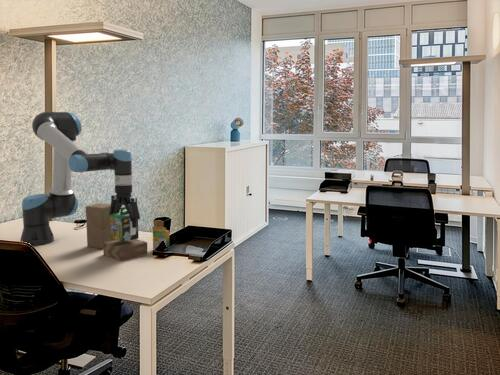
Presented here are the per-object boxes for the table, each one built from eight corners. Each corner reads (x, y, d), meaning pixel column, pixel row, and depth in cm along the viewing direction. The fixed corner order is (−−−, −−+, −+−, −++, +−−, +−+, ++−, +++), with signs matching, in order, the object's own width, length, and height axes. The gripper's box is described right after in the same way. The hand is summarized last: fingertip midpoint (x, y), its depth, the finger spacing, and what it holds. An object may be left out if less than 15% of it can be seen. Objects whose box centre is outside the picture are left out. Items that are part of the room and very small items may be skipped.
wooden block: (103, 249, 216) (101, 208, 213) (86, 246, 220) (85, 206, 217) (117, 244, 225) (116, 204, 222) (101, 242, 229) (100, 202, 226)
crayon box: (169, 250, 216) (169, 226, 214) (166, 251, 213) (166, 227, 212) (156, 248, 218) (155, 224, 217) (152, 250, 216) (152, 226, 214)
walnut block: (103, 255, 208) (103, 242, 207) (130, 249, 218) (129, 237, 217) (120, 261, 199) (120, 248, 198) (147, 255, 209) (147, 242, 208)
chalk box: (127, 235, 214) (126, 204, 212) (139, 238, 208) (138, 206, 206) (110, 239, 207) (109, 206, 205) (122, 242, 201) (121, 209, 199)
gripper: (99, 183, 206) (101, 231, 209) (135, 187, 195) (136, 238, 198) (112, 181, 213) (113, 228, 216) (147, 185, 201) (148, 234, 205)
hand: (124, 233), depth 207 cm, fingers closed on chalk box, 9 cm apart
